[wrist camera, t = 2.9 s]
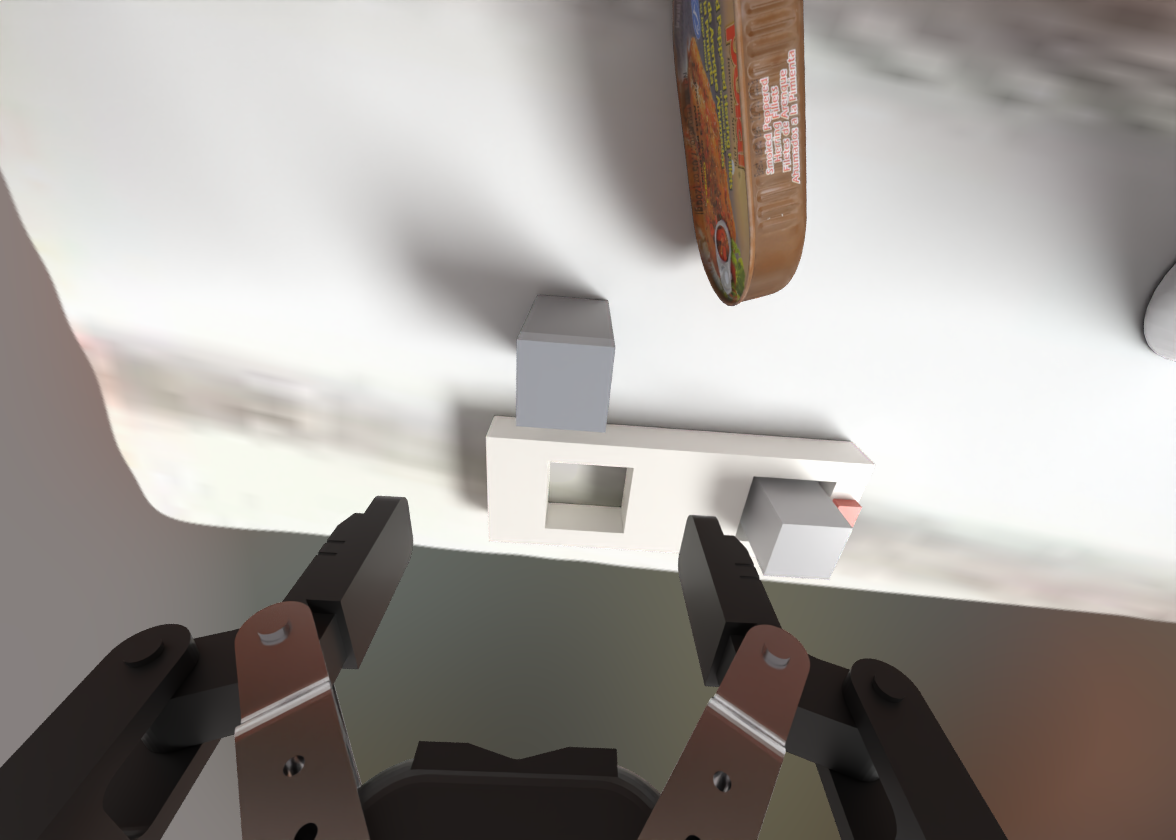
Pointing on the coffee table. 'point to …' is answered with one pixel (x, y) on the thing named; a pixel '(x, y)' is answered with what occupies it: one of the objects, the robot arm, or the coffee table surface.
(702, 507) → the white block holder
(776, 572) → the grey plug
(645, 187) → the coffee table surface
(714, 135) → the tin
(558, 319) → the grey rectangular block
